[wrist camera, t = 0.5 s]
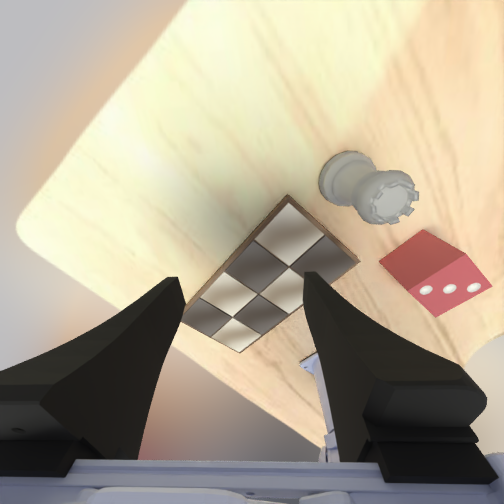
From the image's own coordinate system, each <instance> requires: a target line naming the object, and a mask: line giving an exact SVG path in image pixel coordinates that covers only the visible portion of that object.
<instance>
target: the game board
mask: <svg viewBox="0 0 504 504" xmlns="http://www.w3.org/2000/svg"><path fill="white" fill-rule="evenodd" d="M359 262H361V261H360V260H359V259H358V258H357V257H356V256H355V255H354V254H353V253H352V252H351V251H350V250H349V249H347V248H346V247H345V246H344V245H343V244H342V243H341V242H340V241H339V240H338V239H336V238H335V237H334V236H333V235H332V234H331V233H330V232H329V231H328V230H327V229H325V228H324V227H323V226H322V225H321V224H320V223H319V222H318V221H317V220H315V219H314V218H313V217H312V216H311V215H310V214H309V213H308V212H307V211H306V210H304V209H303V208H302V207H301V206H300V205H299V204H298V203H297V202H296V201H295V200H293V199H292V198H291V197H290V196H289V195H288V194H287V195H286V196H285V197H284V198H283V199H282V201H281V202H280V203H279V204H278V205H277V206H276V207H275V208H274V209H273V210H272V211H271V213H270V214H269V215H268V216H267V217H266V218H265V219H264V220H263V221H262V222H261V223H260V225H259V226H258V227H257V228H256V229H255V230H254V231H253V232H252V233H251V234H250V235H249V237H248V238H247V239H246V240H245V241H244V242H243V243H242V244H241V245H240V246H239V248H238V249H237V250H236V251H235V252H234V253H233V254H232V255H231V256H230V257H229V258H228V260H227V261H226V262H225V263H224V264H223V265H222V266H221V267H220V268H219V269H218V270H217V272H216V273H215V274H214V275H213V276H212V277H211V278H210V279H209V280H208V281H207V282H206V284H205V285H204V286H203V287H202V288H201V289H200V290H199V291H198V292H197V293H196V294H195V296H194V297H193V298H192V299H191V300H190V301H189V302H188V303H187V304H186V305H185V309H184V312H183V316H182V319H181V322H182V323H184V324H186V325H188V326H190V327H191V328H193V329H195V330H197V331H199V332H201V333H203V334H205V335H206V336H208V337H210V338H212V339H214V340H216V341H218V342H219V343H221V344H223V345H225V346H227V347H229V348H231V349H232V350H234V351H236V352H238V353H241V352H243V351H244V350H245V349H246V348H248V347H249V346H250V345H252V344H253V343H254V342H256V341H257V340H258V339H260V338H261V337H262V336H264V335H265V334H266V333H267V332H269V331H270V330H271V329H273V328H274V327H275V326H277V325H278V324H279V323H281V322H282V321H283V320H285V319H286V318H287V317H288V316H290V315H291V314H292V313H294V312H295V311H296V310H298V309H299V308H300V307H302V306H303V286H304V272H311V271H316V272H317V273H318V274H319V275H320V276H321V277H322V278H323V279H324V280H325V281H326V282H327V283H328V284H329V285H331V284H332V283H333V282H334V281H336V280H337V279H338V278H340V277H341V276H342V275H344V274H345V273H346V272H348V271H349V270H350V269H352V268H353V267H354V266H355V265H357V264H358V263H359Z"/></svg>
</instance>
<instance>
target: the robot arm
mask: <svg viewBox="0 0 504 504" xmlns="http://www.w3.org/2000/svg"><path fill="white" fill-rule="evenodd" d="M185 305H186V303H185V299H184V296H183V292H182V289H181V286H180V282H179V279H178V277H167V278H165V279H164V280H163V281H161V282H160V283H159V284H157V285H156V286H155V287H153V288H152V289H151V290H149V291H148V292H147V293H146V294H144V295H143V296H142V297H140V298H139V299H138V300H136V301H135V302H134V303H132V304H131V305H129V306H128V307H126V308H125V309H124V310H122V311H121V312H119V313H118V314H116V315H115V316H113V317H112V318H110V319H109V320H107V321H105V322H104V323H102V324H101V325H99V326H97V327H95V328H93V329H92V330H90V331H88V332H86V333H84V334H82V335H80V336H78V337H77V338H75V339H73V340H71V341H69V342H67V343H65V344H63V345H61V346H59V347H57V348H54V349H52V350H50V351H48V352H46V353H43V354H41V355H39V356H37V357H34V358H32V359H29V360H27V361H24V362H22V363H20V364H17V365H15V366H12V367H10V368H7V369H5V370H2V371H0V504H285V503H277V502H269V501H260V500H252V499H246V498H245V497H248V498H249V497H250V498H251V497H252V498H298V499H300V500H299V504H504V453H492V454H487V455H485V456H484V455H483V454H482V453H481V451H480V450H479V448H478V447H477V446H476V444H475V443H477V442H478V441H479V440H478V437H477V436H476V434H475V433H474V432H473V430H472V429H471V427H470V426H469V425H470V424H471V423H472V422H473V421H474V420H475V419H476V418H477V417H478V416H479V415H480V414H481V413H482V412H483V410H484V409H485V407H486V405H487V397H486V395H485V394H484V392H483V391H482V390H481V389H480V388H479V386H478V385H477V384H476V383H475V382H474V381H473V380H472V378H471V377H470V376H469V375H468V374H467V373H466V372H465V371H464V370H463V368H462V367H461V366H460V365H458V364H456V363H454V362H452V361H450V360H447V359H445V358H443V357H441V356H439V355H436V354H434V353H432V352H430V351H427V350H425V349H423V348H421V347H419V346H417V345H416V344H414V343H412V342H410V341H408V340H406V339H404V338H402V337H400V336H399V335H397V334H395V333H393V332H392V331H390V330H388V329H387V328H385V327H383V326H382V325H380V324H378V323H377V322H375V321H374V320H372V319H371V318H369V317H368V316H366V315H365V314H364V313H362V312H361V311H359V310H358V309H357V308H355V307H354V306H353V305H352V304H350V303H349V302H348V301H347V300H345V299H344V298H343V297H342V296H341V295H340V294H339V293H337V292H336V291H335V290H334V289H333V288H332V287H331V286H330V285H329V284H328V283H327V282H326V281H325V280H324V279H323V278H322V277H321V276H320V275H319V274H318V273H317V272H316V271H311V272H304V286H303V305H304V310H305V315H306V319H307V322H308V325H309V328H310V331H311V334H312V337H313V341H314V344H315V347H316V350H317V353H315V354H314V355H312V356H310V357H309V358H307V359H306V360H304V361H302V362H301V363H300V367H301V368H303V369H305V370H306V371H308V372H310V373H312V374H313V375H314V377H315V381H316V385H317V389H318V394H319V398H320V402H321V406H322V411H323V415H324V419H325V423H326V428H327V432H328V434H327V435H324V438H325V443H326V445H325V446H323V447H322V448H321V453H320V455H319V462H263V461H262V462H261V461H176V460H174V461H173V460H138V455H139V450H140V446H141V441H142V437H143V433H144V429H145V425H146V421H147V417H148V413H149V409H150V405H151V402H152V398H153V395H154V391H155V388H156V384H157V381H158V378H159V374H160V372H161V368H162V365H163V363H164V360H165V357H166V355H167V352H168V350H169V348H170V345H171V343H172V341H173V339H174V336H175V334H176V332H177V329H178V327H179V324H180V322H181V319H182V316H183V312H184V309H185Z"/></svg>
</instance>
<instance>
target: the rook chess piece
mask: <svg viewBox="0 0 504 504" xmlns="http://www.w3.org/2000/svg"><path fill="white" fill-rule="evenodd" d="M319 186H320V191H321V193H322V195H323V196H324V197H325V199H326V200H328V201H330V202H331V203H333V204H335V205H337V206H351V205H353V206H354V208H355V209H356V210H357V211H358V214H359V215H360V217H361V218H362V219H363V220H364V221H366V222H368V223H370V224H385V223H389V224H390V225H391V224H395V223H398V222H400V221H399V218H398V217H399V216H401V215H402V214H404V215H406V216H409V215H410V214H411V213H412V212H413V211H414V208H412V207H410V204H411V202H412V201H417V200H419V192H418V191H415V190H414V183H413V181H412V179H411V177H410V176H409V175H408V174H406V173H404V172H402V171H396V170H389V171H376V167H375V165H374V164H373V162H372V160H371V159H370V158H369V157H367V156H365V155H364V154H362V153H359V152H356V151H346V152H343V153H340V154H338V155H335V156H334V157H333V158H332V159H331V160H330V161H328V162H327V163H326V165H325V167H324V168H323V170H322V172H321V175H320V180H319Z"/></svg>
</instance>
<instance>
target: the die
mask: <svg viewBox="0 0 504 504" xmlns="http://www.w3.org/2000/svg"><path fill="white" fill-rule="evenodd" d="M379 262H380V263H381V264H382V265H383V266H384V267H385V268H386V269H387V270H388V271H389V272H390V274H391V275H392V276H393V277H394V278H395V279H396V280H397V281H398V282H399V283H400V284H401V285H402V286H403V287H404V288H405V289H406V290H407V291H408V292H409V293H410V294H411V295H412V296H413V297H414V298H415V299H417V300H418V301H419V302H420V303H421V304H422V305H423V306H424V307H425V308H426V309H427V310H428V311H429V312H430V313H431V314H433V315H434V316H435V317H438V316H439V315H441V314H443V313H445V312H447V311H448V310H450V309H452V308H454V307H456V306H458V305H459V304H461V303H463V302H465V301H467V300H469V299H470V298H472V297H474V296H476V295H478V294H480V293H481V292H483V291H485V290H487V289H489V288H491V287H492V285H491V284H490V282H489V281H488V280H487V279H486V278H485V276H484V275H483V274H482V273H481V271H480V270H479V269H478V268H477V267H476V265H475V264H474V263H473V262H472V260H471V259H470V258H469V257H468V256H467V254H466V253H464V252H462V251H460V250H459V249H457V248H455V247H453V246H451V245H450V244H448V243H446V242H444V241H443V240H441V239H439V238H437V237H435V236H434V235H432V234H430V233H428V232H427V231H425V230H421V231H420V232H419V233H417V234H416V235H414V236H413V237H412V238H410V239H409V240H408V241H406V242H405V243H403V244H402V245H401V246H399V247H398V248H397V249H395V250H394V251H393V252H391V253H390V254H388V255H387V256H386V257H384V258H383V259H382V260H380V261H379Z"/></svg>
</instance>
